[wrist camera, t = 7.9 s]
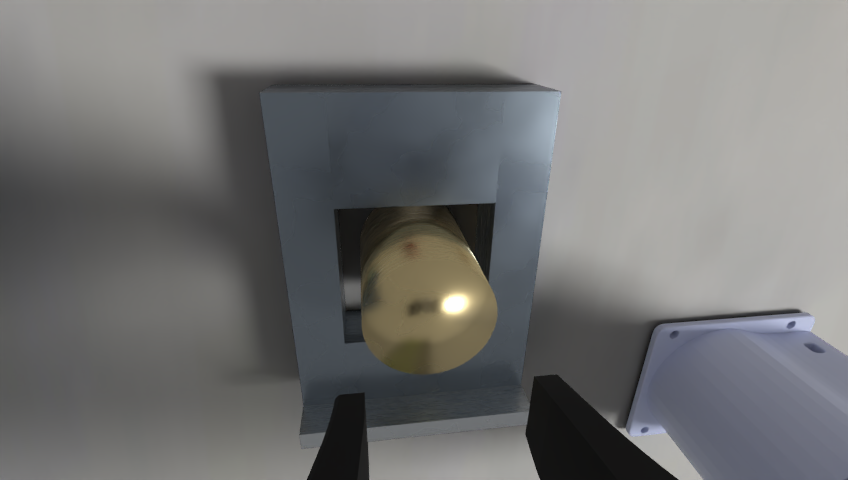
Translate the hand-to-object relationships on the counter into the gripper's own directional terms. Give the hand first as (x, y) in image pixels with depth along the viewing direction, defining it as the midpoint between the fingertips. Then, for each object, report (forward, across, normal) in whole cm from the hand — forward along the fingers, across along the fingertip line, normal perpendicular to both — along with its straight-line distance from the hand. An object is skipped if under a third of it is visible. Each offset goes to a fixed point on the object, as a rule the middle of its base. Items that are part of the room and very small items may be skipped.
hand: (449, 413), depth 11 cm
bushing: (+9, 0, 0) cm, 9 cm away
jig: (+9, 0, 0) cm, 9 cm away
